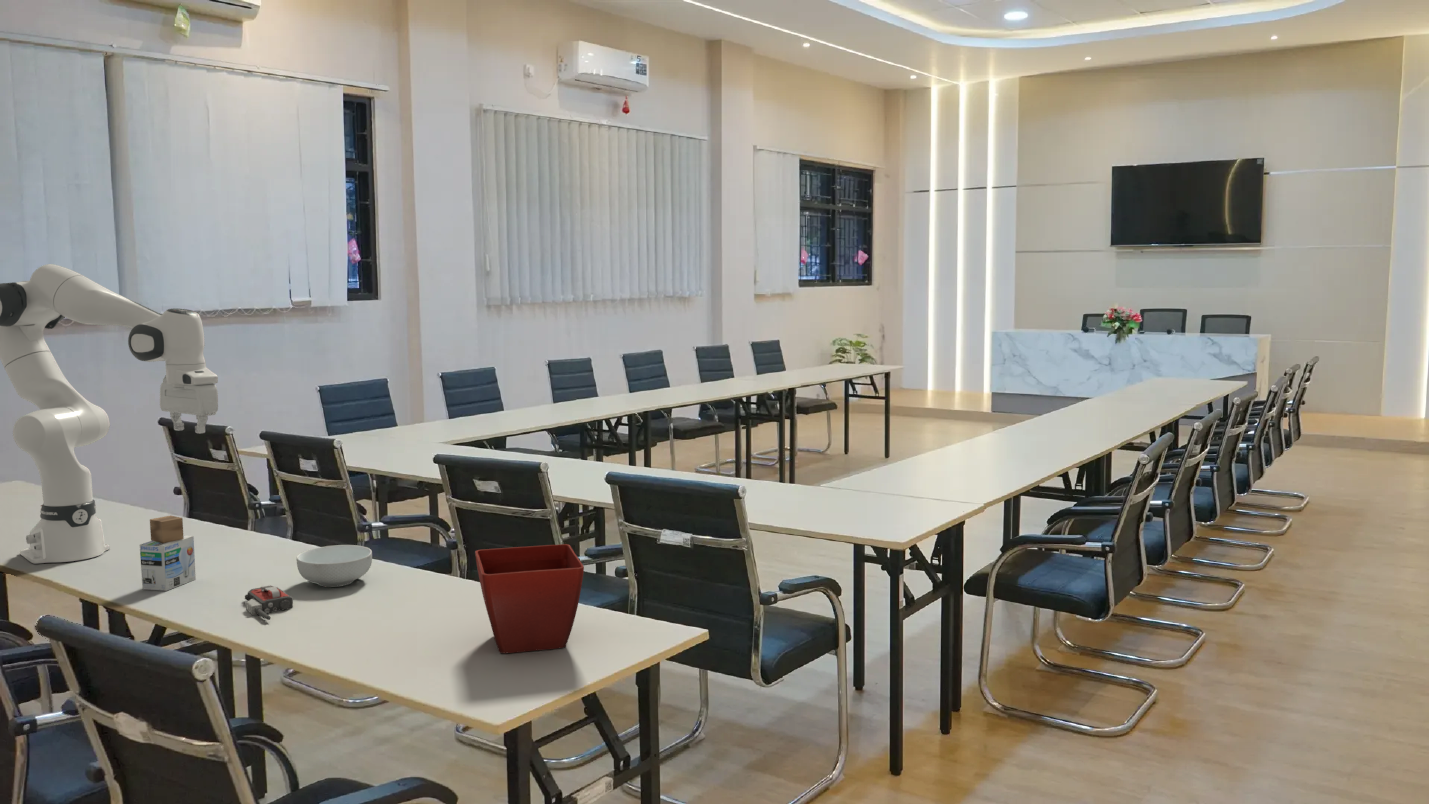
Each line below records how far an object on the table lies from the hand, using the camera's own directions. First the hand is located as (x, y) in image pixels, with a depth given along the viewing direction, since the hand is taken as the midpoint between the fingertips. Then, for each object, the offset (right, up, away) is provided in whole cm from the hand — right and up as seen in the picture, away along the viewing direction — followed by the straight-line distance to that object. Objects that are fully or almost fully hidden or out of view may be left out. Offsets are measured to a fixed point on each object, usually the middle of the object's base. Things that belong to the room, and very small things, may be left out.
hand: (189, 431), depth 266 cm
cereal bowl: (+39, -36, -10) cm, 54 cm away
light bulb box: (+1, -36, -11) cm, 37 cm away
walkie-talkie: (+32, -38, -30) cm, 58 cm away
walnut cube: (+1, -25, -12) cm, 28 cm away
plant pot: (+92, -40, -52) cm, 113 cm away
